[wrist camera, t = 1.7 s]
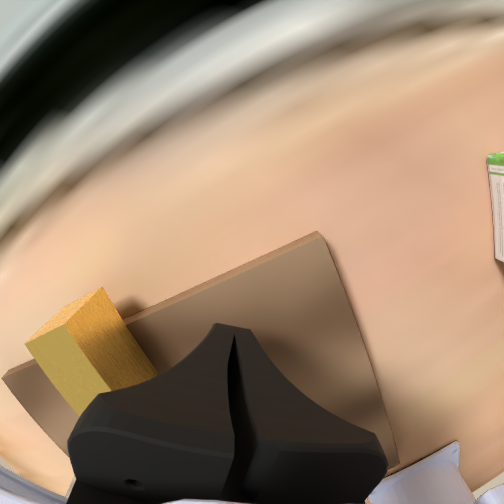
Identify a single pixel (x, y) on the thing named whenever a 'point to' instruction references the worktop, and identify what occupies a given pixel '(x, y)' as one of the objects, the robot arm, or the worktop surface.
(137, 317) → the post board
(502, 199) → the syrup box
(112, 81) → the worktop surface
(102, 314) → the small silver pan
